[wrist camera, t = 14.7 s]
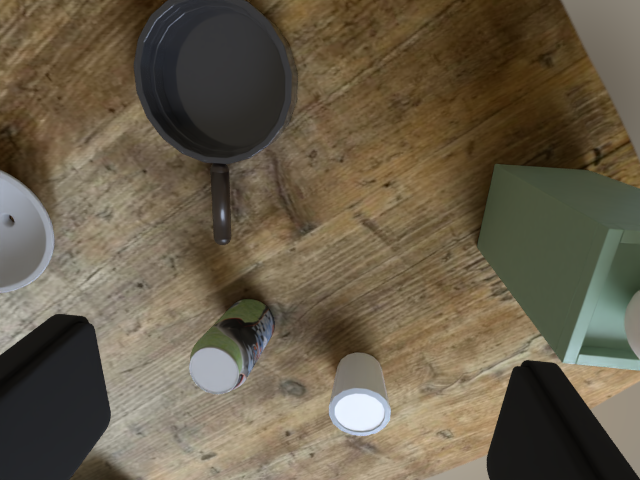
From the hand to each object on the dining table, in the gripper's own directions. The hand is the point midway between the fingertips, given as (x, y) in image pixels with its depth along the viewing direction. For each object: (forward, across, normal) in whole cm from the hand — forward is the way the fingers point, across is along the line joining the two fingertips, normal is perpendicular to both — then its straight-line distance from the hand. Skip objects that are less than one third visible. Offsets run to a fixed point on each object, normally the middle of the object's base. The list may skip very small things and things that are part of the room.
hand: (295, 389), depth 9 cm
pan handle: (+31, +12, +5) cm, 34 cm away
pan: (+33, +12, -6) cm, 36 cm away
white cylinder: (+34, -4, +27) cm, 43 cm away
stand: (+33, -20, +4) cm, 39 cm away
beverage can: (+34, +10, +20) cm, 40 cm away
